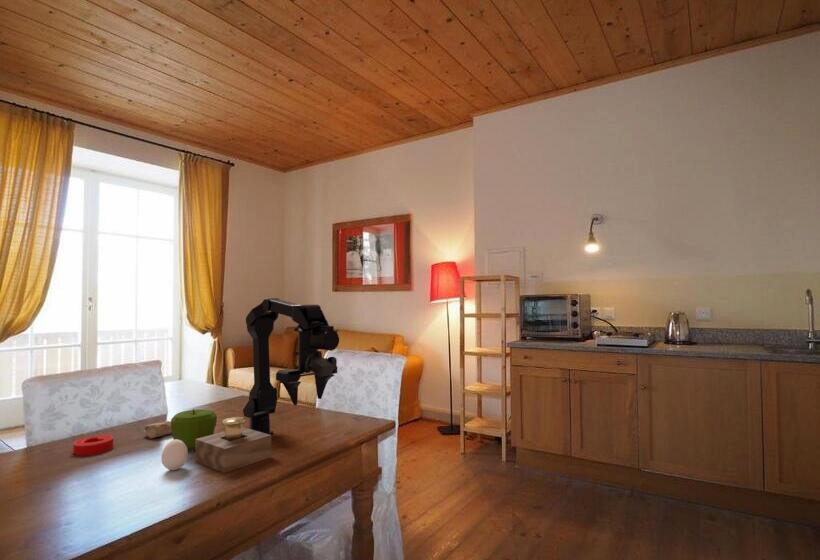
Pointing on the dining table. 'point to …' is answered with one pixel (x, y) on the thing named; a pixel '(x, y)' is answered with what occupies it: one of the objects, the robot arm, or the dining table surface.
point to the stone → (158, 429)
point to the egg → (174, 455)
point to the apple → (193, 426)
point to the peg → (233, 428)
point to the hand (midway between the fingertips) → (307, 401)
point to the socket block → (232, 450)
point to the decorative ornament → (93, 445)
